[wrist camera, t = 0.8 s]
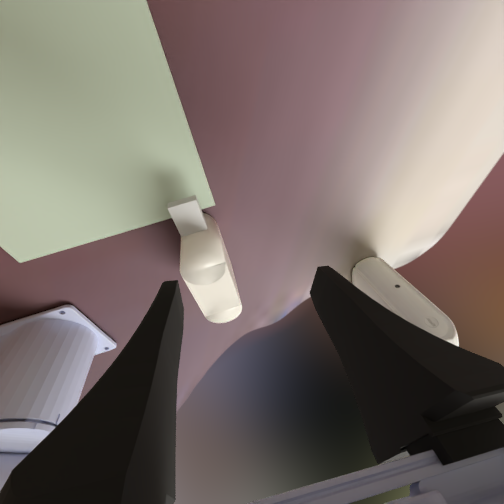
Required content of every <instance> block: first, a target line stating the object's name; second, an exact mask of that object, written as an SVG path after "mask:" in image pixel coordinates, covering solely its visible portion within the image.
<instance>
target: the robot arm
mask: <svg viewBox="0 0 504 504" xmlns="http://www.w3.org/2000/svg"><path fill="white" fill-rule="evenodd" d="M310 295H311V298H312V300H313V303H314V306H315V309H316V311H317V313H318V315H319V317H320V319H321V320H322V323H323V325H324V327H325V329H326V331H327V332H328V334H329V336H330V338H331V340H332V342H333V344H334V346H335V348H336V350H337V352H338V354H339V356H340V359H341V361H342V364H343V366H344V369H345V371H346V374H347V376H348V379H349V382H350V384H351V387H352V390H353V393H354V395H355V398H356V401H357V404H358V407H359V410H360V413H361V416H362V419H363V423H364V426H365V429H366V432H367V436H368V439H369V443H370V446H371V450H372V452H373V455H374V457H375V459H376V461H377V463H378V464H381V465H377V466H374V467H370V468H367V469H364V470H360V471H357V472H353V473H350V474H346V475H343V476H339V477H336V478H333V479H329V480H326V481H322V482H319V483H315V484H312V485H308V486H305V487H301V488H298V489H294V490H291V491H288V492H284V493H281V494H277V495H274V496H270V497H267V498H263V499H260V500H257V501H253V502H250V503H246V504H349V503H352V502H355V501H358V500H361V499H365V498H368V497H371V496H374V495H377V494H380V493H383V492H386V491H390V490H393V489H396V488H399V487H402V486H406V485H408V484H411V485H410V495H409V496H408V497H404V498H401V499H397V500H394V501H391V502H387V503H384V504H504V424H503V423H502V422H501V421H500V420H499V419H498V418H501V417H502V414H501V413H500V412H499V411H498V409H497V408H496V407H495V406H496V405H498V404H500V403H502V402H504V367H503V366H502V365H501V364H499V363H497V362H494V361H492V360H490V359H487V358H485V357H482V356H480V355H477V354H475V353H472V352H470V351H467V350H465V349H462V348H460V347H458V346H456V345H454V344H452V343H449V342H447V341H445V340H443V339H441V338H439V337H437V336H435V335H433V334H431V333H429V332H427V331H425V330H423V329H421V328H419V327H417V326H416V325H414V324H412V323H410V322H408V321H407V320H405V319H403V318H402V317H400V316H398V315H397V314H395V313H393V312H392V311H390V310H388V309H387V308H385V307H384V306H382V305H381V304H379V303H378V302H376V301H375V300H374V299H372V298H371V297H369V296H368V295H367V294H365V293H364V292H362V291H361V290H360V289H358V288H357V287H356V286H354V285H353V284H352V283H351V282H349V281H348V280H347V279H345V278H344V277H343V276H341V275H340V274H339V273H338V272H336V271H335V270H334V269H332V268H331V267H329V266H321V267H318V268H317V271H316V275H315V278H314V281H313V284H312V287H311V291H310ZM183 320H184V308H183V303H182V298H181V293H180V289H179V284H178V280H175V281H165V282H163V283H162V285H161V287H160V289H159V292H158V294H157V296H156V297H155V299H154V301H153V303H152V305H151V307H150V308H149V310H148V312H147V314H146V315H145V317H144V319H143V320H142V322H141V324H140V325H139V327H138V328H137V330H136V331H135V333H134V334H133V336H132V337H131V339H130V340H129V342H128V343H127V345H126V346H125V347H124V349H123V350H122V352H121V353H120V354H119V356H118V357H117V358H116V359H115V361H114V362H113V363H112V365H111V366H110V367H109V368H108V370H107V371H106V372H105V373H104V374H103V376H102V377H101V378H100V379H99V381H98V382H97V383H96V384H95V385H94V386H93V388H92V389H91V390H90V391H89V392H88V393H87V394H86V395H85V397H84V398H83V399H82V400H81V401H80V402H79V403H78V401H79V398H80V395H81V392H82V389H83V386H84V383H85V380H86V377H87V375H88V372H89V369H90V366H91V363H92V360H93V357H94V355H97V354H100V353H103V352H106V351H109V350H112V349H114V348H116V345H117V344H116V343H115V342H114V341H113V340H112V339H111V338H110V337H108V336H107V335H106V334H105V333H104V332H103V331H102V330H100V329H99V328H98V327H97V326H96V325H95V324H93V323H92V322H91V321H90V320H89V319H88V318H87V317H85V316H84V315H83V314H82V313H81V312H80V311H78V310H77V309H76V308H75V307H74V306H72V305H64V306H60V307H57V308H54V309H51V310H47V311H44V312H41V313H38V314H35V315H31V316H28V317H25V318H22V319H18V320H15V321H12V322H9V323H6V324H2V325H0V504H173V503H174V502H175V447H176V446H175V445H176V441H175V440H176V398H177V378H178V368H179V360H180V352H181V344H182V335H183ZM406 456H409V457H406ZM403 457H405V458H403ZM399 458H402V459H399ZM396 459H398V460H396ZM392 460H395V461H392ZM389 461H392V462H389ZM385 462H388V463H385ZM382 463H384V464H382Z"/></svg>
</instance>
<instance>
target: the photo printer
mask: <svg viewBox="0 0 504 504" xmlns="http://www.w3.org/2000/svg"><path fill="white" fill-rule="evenodd" d="M352 284H353V285H354V286H356V287H357V288H358V289H360V290H361V291H362V292H364V293H365V294H367V295H368V296H369V297H371V298H372V299H374V300H375V301H376V302H378V303H379V304H381V305H382V306H384V307H385V308H387V309H388V310H390V311H392V312H393V313H395V314H397V315H398V316H400V317H402V318H403V319H405V320H407V321H408V322H410V323H412V324H414V325H416V326H417V327H419V328H421V329H423V330H425V331H427V332H429V333H431V334H433V335H435V336H437V337H439V338H441V339H443V340H445V341H447V342H449V343H452V344H454V345H456V346H458V347H459V341H458V335H457V331H456V328H455V326H454V324H453V322H452V321H451V320H450V319H449V317H448V316H447V315H446V314H444V313H443V312H442V311H441V310H440V309H439V308H437V307H436V306H435V305H434V304H433V303H432V302H431V301H429V300H428V299H427V298H426V297H425V296H424V295H423V294H421V293H420V292H419V291H418V290H417V289H416V288H414V287H413V286H412V285H411V284H410V283H409V282H408V281H407V280H405V279H404V278H403V277H402V276H401V275H400V274H398V273H397V272H396V271H395V270H394V269H393V268H392V267H391V266H389V265H388V264H387V263H386V262H385V261H384V260H383V259H381V258H375V257H368V258H365V259H363V260H361V261H360V262H358V263H357V264H356V265H355V267H354V268H353V272H352Z"/></svg>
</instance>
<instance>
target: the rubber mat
mask: <svg viewBox="0 0 504 504" xmlns="http://www.w3.org/2000/svg"><path fill="white" fill-rule="evenodd" d="M193 195H196V197H197V199H198V202H199V205H200V207H201V209H204V208H207V207H211V206H214V205H215V202H214V199H213V196H212V193H211V190H210V187H209V184H208V181H207V179H206V176H205V173H204V170H203V167H202V164H201V161H200V158H199V155H198V152H197V149H196V146H195V143H194V140H193V137H192V134H191V131H190V128H189V125H188V122H187V119H186V116H185V113H184V110H183V107H182V104H181V101H180V98H179V96H178V93H177V90H176V87H175V84H174V81H173V78H172V75H171V72H170V69H169V66H168V63H167V60H166V57H165V54H164V51H163V48H162V45H161V42H160V39H159V36H158V33H157V30H156V27H155V24H154V21H153V18H152V15H151V13H150V10H149V7H148V4H147V1H146V0H0V247H2V248H3V249H4V250H5V251H6V252H7V253H9V254H10V255H11V256H12V257H13V258H14V259H16V260H17V261H18V262H19V263H21V262H25V261H28V260H32V259H35V258H38V257H42V256H45V255H48V254H52V253H55V252H59V251H62V250H65V249H69V248H72V247H76V246H79V245H82V244H86V243H89V242H92V241H96V240H99V239H103V238H106V237H109V236H113V235H116V234H120V233H123V232H126V231H130V230H133V229H136V228H140V227H143V226H147V225H150V224H153V223H157V222H160V221H163V220H167V219H170V218H172V217H171V215H170V213H169V211H168V209H167V207H168V203H169V202H173V201H176V200H180V199H183V198H187V197H190V196H193Z"/></svg>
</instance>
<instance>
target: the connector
mask: <svg viewBox="0 0 504 504" xmlns="http://www.w3.org/2000/svg"><path fill="white" fill-rule="evenodd" d="M167 209H168V211H169V213H170V215H171V217H172V219H173V221H174V223H175V225H176V227H177V229H178V231H179V233H180V235H181V249H180V273H181V275H182V277H183V279H184V281H185V282H186V284H187V286H188V288H189V289H190V291H191V293H192V295H193V297H194V298H195V300H196V302H197V304H198V305H199V307H200V309H201V311H202V312H203V314H204V316H205V317H206V319H207V320H209V321H211V322H214V323H225V322H229V321H231V320H233V319H235V318H236V317H237V316H238V315H239V314H240V313H241V311H242V305H241V301H240V297H239V293H238V289H237V285H236V281H235V277H234V273H233V269H232V265H231V262H230V259H229V256H228V253H227V250H226V248H225V245H224V242H223V239H222V236H221V233H220V231H219V228H218V225H217V222H216V221H215V219H214V218H213V217H212V216H210V215H208V214H206V213H203V212H202V210H201V207H200V205H199V202H198V199H197V197H196V195H193V196H190V197H187V198H183V199H180V200H176V201H173V202H169V203H168V207H167Z"/></svg>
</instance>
